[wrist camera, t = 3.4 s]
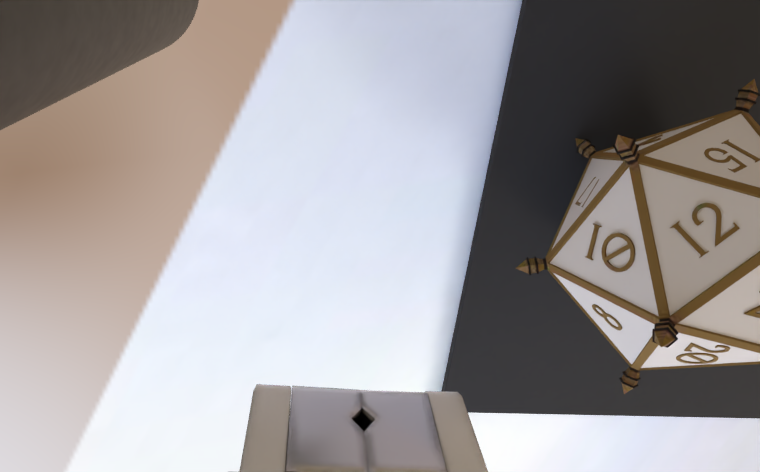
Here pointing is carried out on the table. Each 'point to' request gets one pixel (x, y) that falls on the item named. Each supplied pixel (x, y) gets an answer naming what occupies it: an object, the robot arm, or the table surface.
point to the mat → (557, 186)
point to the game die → (668, 244)
